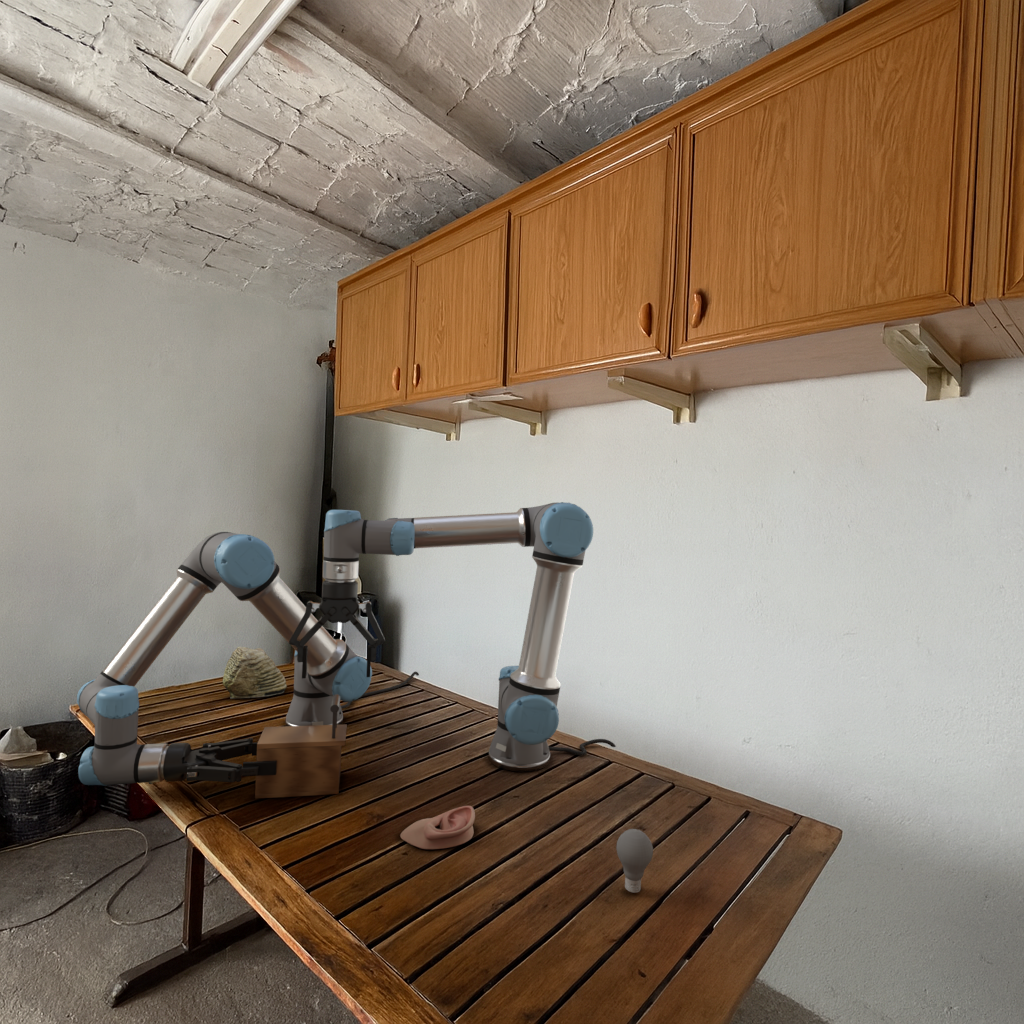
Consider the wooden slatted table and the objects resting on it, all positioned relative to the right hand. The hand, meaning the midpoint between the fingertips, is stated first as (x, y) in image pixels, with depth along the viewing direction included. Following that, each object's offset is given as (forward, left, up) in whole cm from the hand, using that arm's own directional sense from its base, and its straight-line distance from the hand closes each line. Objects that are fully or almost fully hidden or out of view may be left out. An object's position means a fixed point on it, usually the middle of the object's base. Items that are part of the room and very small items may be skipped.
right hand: (336, 676), depth 139 cm
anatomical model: (-17, +27, -24) cm, 40 cm away
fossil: (+16, -69, -24) cm, 75 cm away
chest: (+7, -1, -24) cm, 25 cm away
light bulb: (-43, +54, -24) cm, 73 cm away
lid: (+6, -1, -14) cm, 15 cm away
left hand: (+11, -2, -18) cm, 21 cm away
